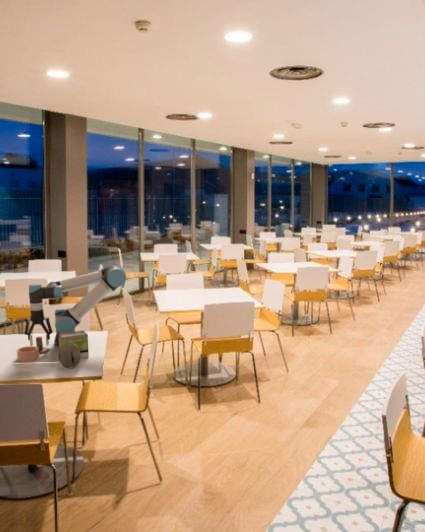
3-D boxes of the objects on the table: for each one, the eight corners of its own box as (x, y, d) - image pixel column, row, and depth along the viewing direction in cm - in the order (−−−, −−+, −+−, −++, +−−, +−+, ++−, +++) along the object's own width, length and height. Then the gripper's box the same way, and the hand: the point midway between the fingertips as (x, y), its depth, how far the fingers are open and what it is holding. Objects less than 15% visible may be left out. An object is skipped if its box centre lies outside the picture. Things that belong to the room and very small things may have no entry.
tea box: (63, 362, 316) (61, 337, 314) (59, 357, 325) (58, 333, 323) (89, 357, 323) (87, 333, 321) (84, 353, 332) (83, 329, 330)
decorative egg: (84, 368, 304) (82, 342, 302) (62, 372, 298) (61, 346, 296) (77, 362, 314) (76, 337, 312) (57, 366, 308) (55, 340, 306)
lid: (51, 348, 342) (50, 334, 341) (46, 353, 331) (45, 339, 330) (33, 348, 342) (32, 335, 341) (28, 354, 331) (26, 340, 330)
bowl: (41, 355, 330) (41, 345, 329) (35, 362, 318) (34, 352, 317) (21, 356, 329) (20, 346, 329) (14, 362, 318) (14, 352, 317)
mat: (51, 349, 342) (51, 348, 342) (46, 354, 331) (46, 353, 331) (33, 349, 342) (33, 348, 342) (28, 355, 331) (28, 354, 331)
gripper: (56, 307, 336) (58, 342, 340) (20, 308, 336) (23, 343, 339) (53, 310, 329) (55, 346, 332) (16, 311, 329) (19, 347, 332)
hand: (39, 345), depth 336 cm, fingers open, 9 cm apart
